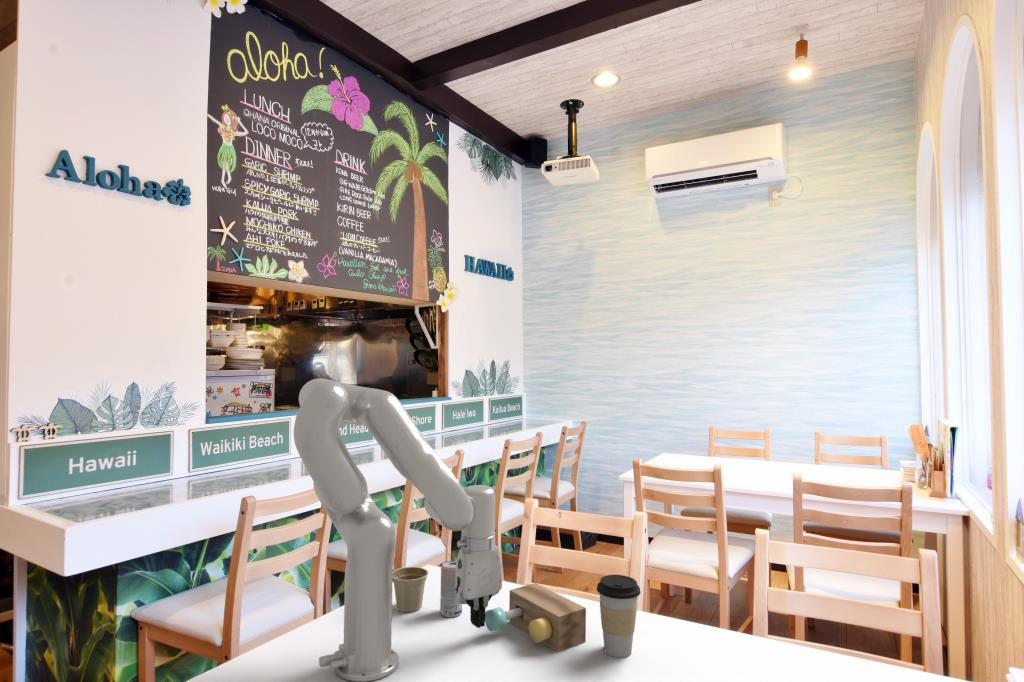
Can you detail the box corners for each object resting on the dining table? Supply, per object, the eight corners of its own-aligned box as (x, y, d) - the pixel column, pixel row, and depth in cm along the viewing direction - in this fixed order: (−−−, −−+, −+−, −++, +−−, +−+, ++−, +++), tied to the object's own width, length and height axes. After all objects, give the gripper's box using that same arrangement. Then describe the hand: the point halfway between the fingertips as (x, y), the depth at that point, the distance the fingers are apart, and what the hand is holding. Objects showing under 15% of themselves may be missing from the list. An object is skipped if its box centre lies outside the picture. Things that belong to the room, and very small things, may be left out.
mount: (558, 651, 129) (558, 616, 130) (509, 621, 144) (509, 590, 144) (585, 641, 134) (585, 608, 134) (535, 613, 149) (535, 583, 149)
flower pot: (382, 612, 148) (383, 577, 148) (400, 598, 157) (401, 564, 157) (417, 618, 145) (418, 582, 145) (433, 602, 154) (434, 569, 154)
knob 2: (541, 645, 129) (541, 625, 129) (528, 637, 132) (528, 617, 132) (578, 632, 135) (579, 612, 135) (565, 625, 139) (566, 605, 139)
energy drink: (463, 609, 150) (464, 561, 151) (459, 618, 145) (460, 568, 145) (442, 608, 151) (443, 560, 151) (438, 617, 146) (438, 567, 146)
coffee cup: (607, 664, 124) (607, 591, 125) (589, 643, 134) (590, 575, 134) (648, 658, 127) (648, 587, 127) (627, 638, 136) (628, 571, 136)
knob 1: (495, 634, 134) (495, 614, 134) (484, 626, 137) (484, 607, 137) (533, 621, 140) (534, 602, 140) (522, 615, 144) (522, 596, 144)
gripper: (458, 553, 127) (457, 640, 126) (515, 540, 135) (514, 622, 135) (440, 544, 133) (440, 627, 132) (496, 532, 141) (495, 610, 141)
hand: (477, 624), depth 134 cm, fingers closed
